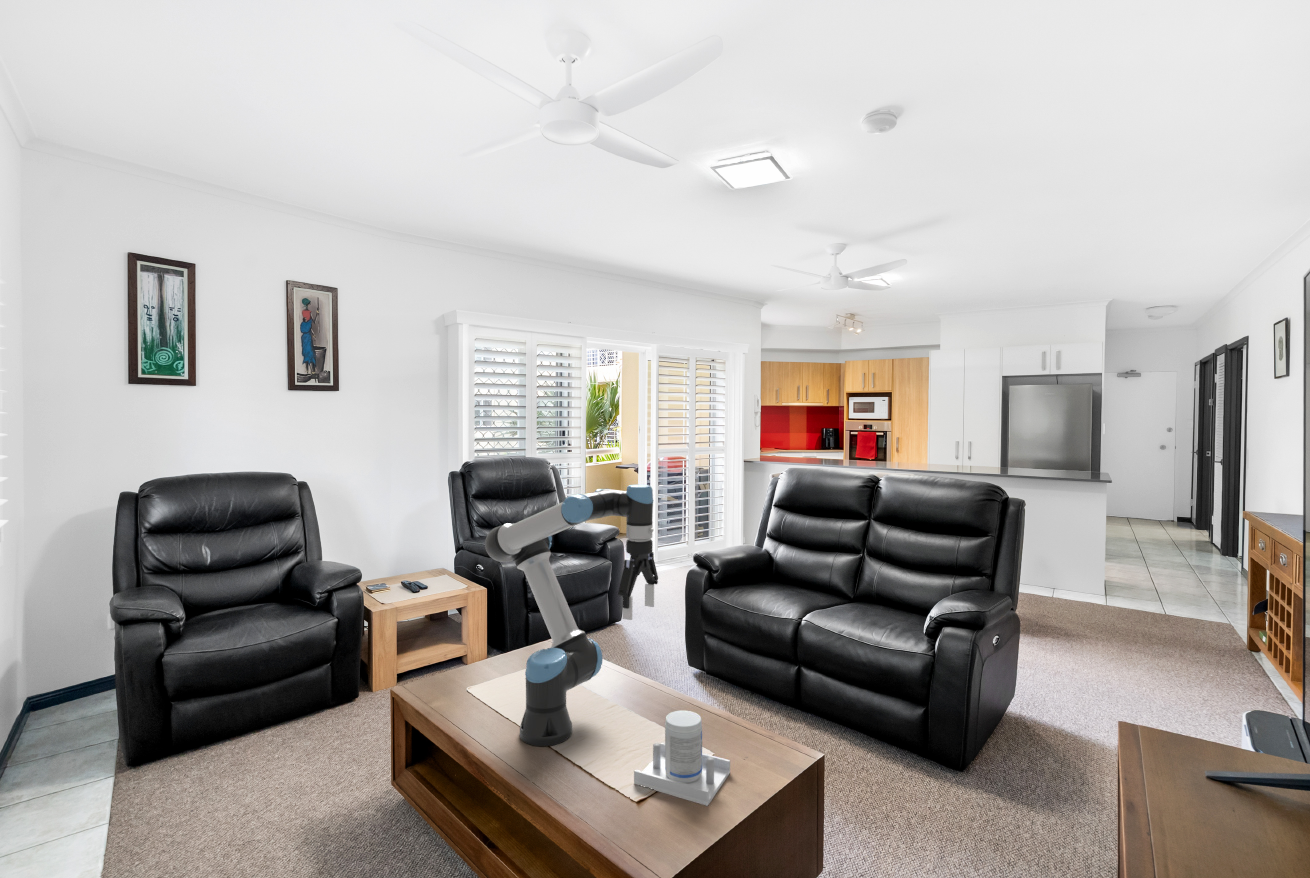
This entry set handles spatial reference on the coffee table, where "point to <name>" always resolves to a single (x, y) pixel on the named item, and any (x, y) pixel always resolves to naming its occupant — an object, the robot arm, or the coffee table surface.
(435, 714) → the coffee table surface
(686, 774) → the supplement tub
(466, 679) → the coffee table surface
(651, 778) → the tray
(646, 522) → the robot arm
